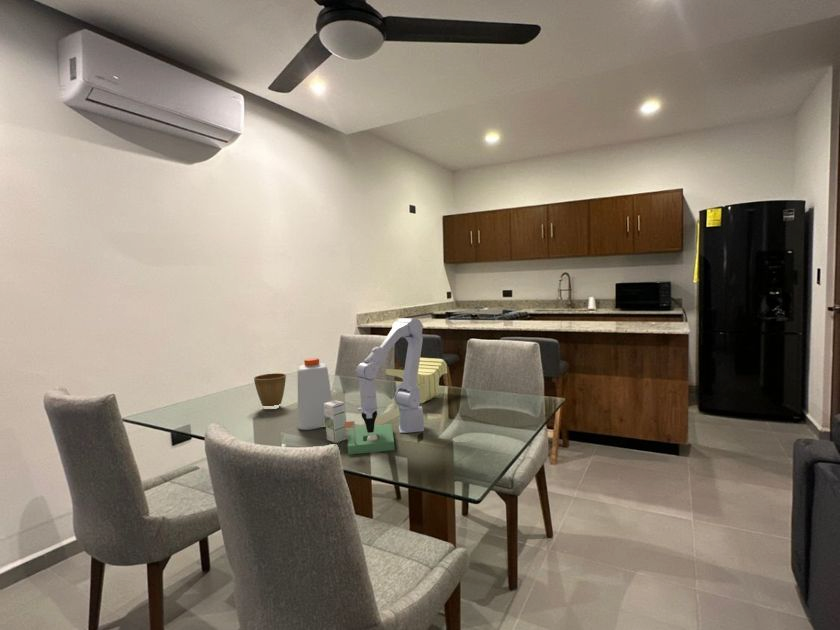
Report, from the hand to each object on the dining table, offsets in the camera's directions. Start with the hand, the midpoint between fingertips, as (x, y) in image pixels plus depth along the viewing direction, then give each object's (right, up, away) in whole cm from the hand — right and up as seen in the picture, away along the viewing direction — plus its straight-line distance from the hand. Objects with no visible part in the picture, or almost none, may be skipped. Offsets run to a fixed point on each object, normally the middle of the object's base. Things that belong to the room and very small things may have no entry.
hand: (370, 431), depth 163 cm
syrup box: (-13, -5, +5) cm, 15 cm away
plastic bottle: (-26, -4, +26) cm, 37 cm away
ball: (+1, -2, -3) cm, 4 cm away
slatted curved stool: (+18, +1, +57) cm, 60 cm away
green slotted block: (0, -4, +1) cm, 4 cm away
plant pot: (-54, -3, +56) cm, 78 cm away
